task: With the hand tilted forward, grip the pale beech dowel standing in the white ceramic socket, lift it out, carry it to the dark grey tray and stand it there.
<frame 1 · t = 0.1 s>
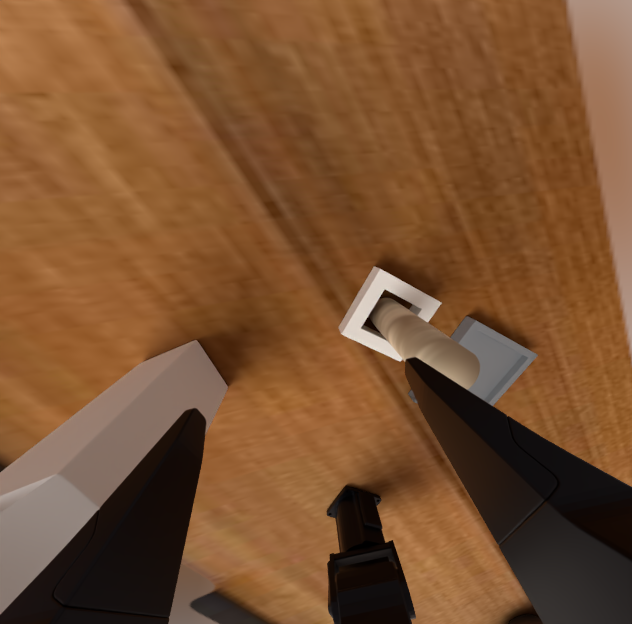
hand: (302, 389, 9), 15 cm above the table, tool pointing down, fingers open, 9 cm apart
tray: (466, 371, 29), on the table
dowel: (408, 334, 20), in the socket
milk carton: (187, 373, 26), on the table
socket: (384, 312, 25), on the table
cooking pot: (521, 620, 53), on the table
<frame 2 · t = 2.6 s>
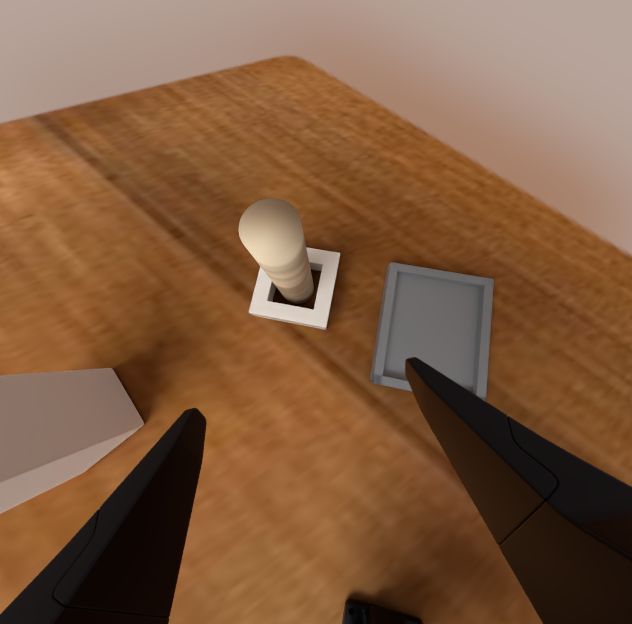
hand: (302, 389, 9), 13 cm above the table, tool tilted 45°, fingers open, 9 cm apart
tray: (427, 331, 23), on the table
dowel: (288, 267, 18), in the socket
milk carton: (102, 416, 23), on the table
socket: (297, 288, 24), on the table
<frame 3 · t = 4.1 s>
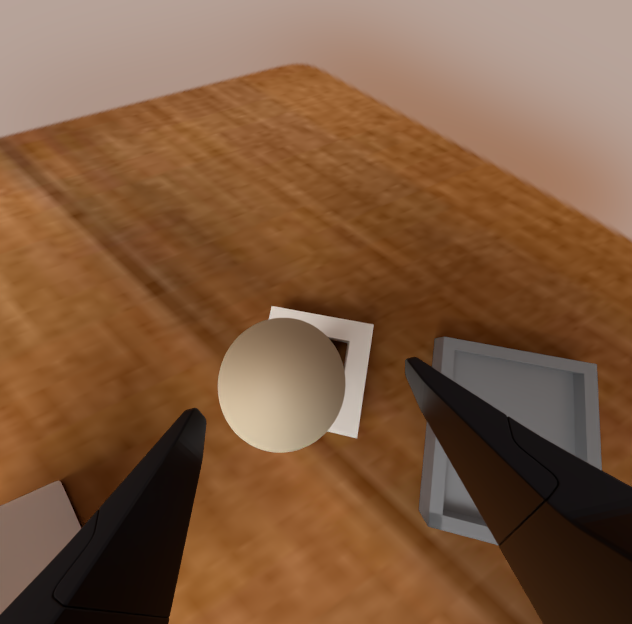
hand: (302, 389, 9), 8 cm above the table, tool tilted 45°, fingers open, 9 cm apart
tray: (499, 434, 16), on the table
dowel: (305, 370, 12), in the socket
milk carton: (43, 552, 16), on the table
socket: (313, 366, 18), on the table
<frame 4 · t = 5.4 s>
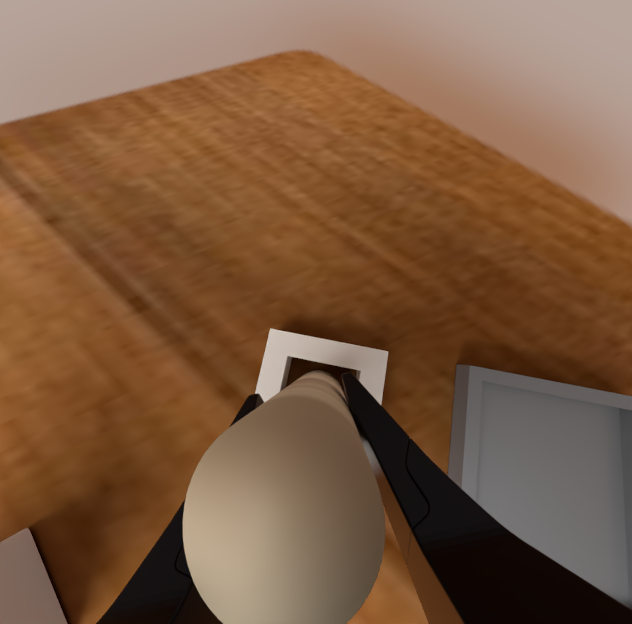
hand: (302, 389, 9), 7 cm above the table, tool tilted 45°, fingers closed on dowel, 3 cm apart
tray: (532, 477, 14), on the table
dowel: (310, 420, 10), in the socket, touching gripper
milk carton: (8, 611, 14), on the table
socket: (318, 396, 16), on the table
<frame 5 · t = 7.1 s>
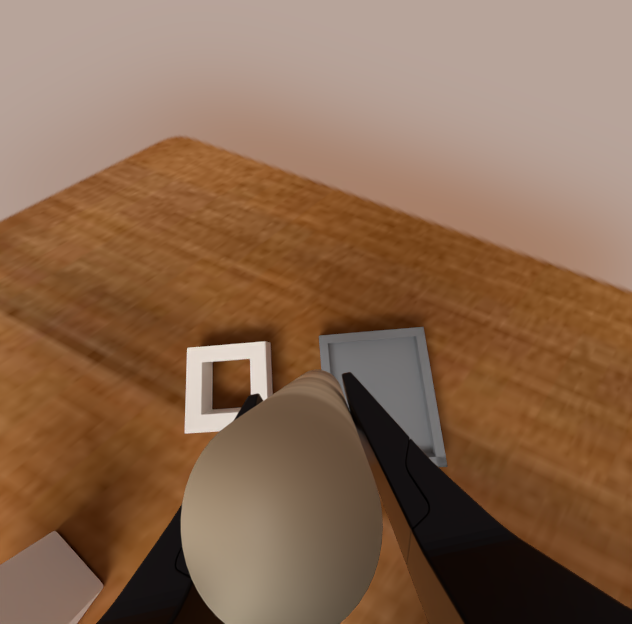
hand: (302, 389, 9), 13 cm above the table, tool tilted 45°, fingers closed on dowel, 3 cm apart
tray: (375, 393, 22), on the table
dowel: (309, 419, 10), point 13 cm above the table, touching gripper
milk carton: (56, 589, 20), on the table
socket: (234, 383, 23), on the table
when the fingers open (8 cm above the table, at t = 8.8 s): dowel stays where it is, resting on tray.
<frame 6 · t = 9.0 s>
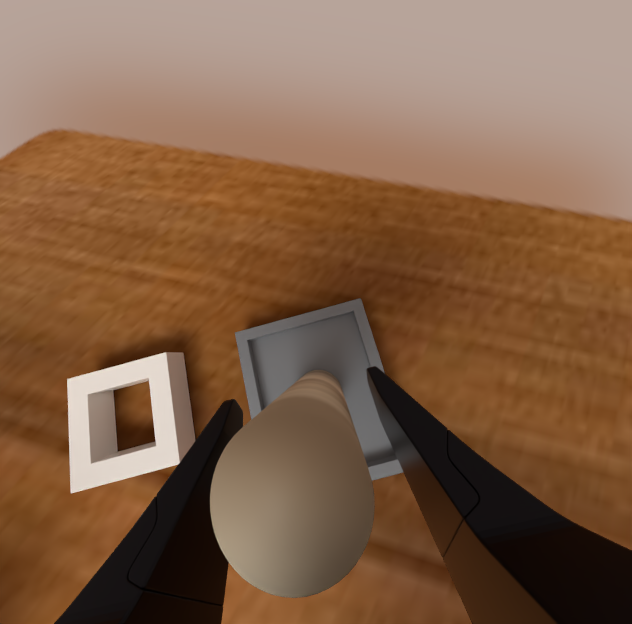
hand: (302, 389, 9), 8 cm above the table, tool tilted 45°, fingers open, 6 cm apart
tray: (319, 392, 17), on the table
dowel: (312, 416, 11), point 7 cm above the table, touching tray
socket: (143, 412, 18), on the table
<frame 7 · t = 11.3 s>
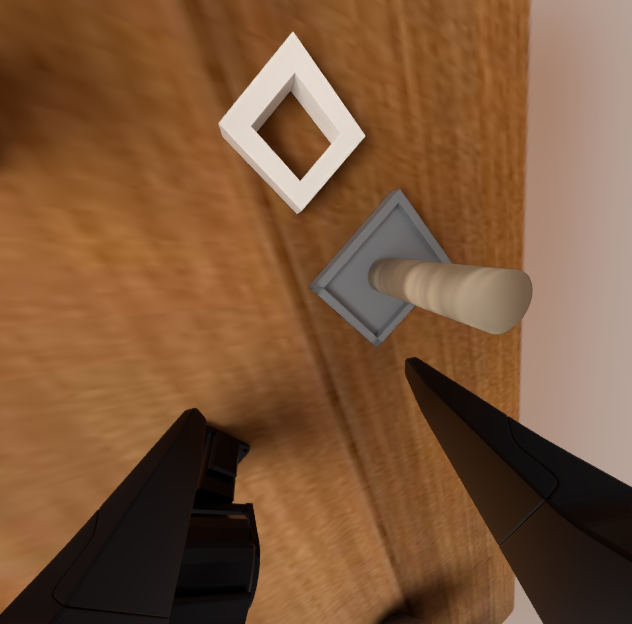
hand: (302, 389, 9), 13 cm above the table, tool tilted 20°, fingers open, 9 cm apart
tray: (379, 273, 24), on the table
dowel: (425, 284, 17), point 7 cm above the table, touching tray
socket: (293, 141, 18), on the table
cooking pot: (390, 622, 48), on the table
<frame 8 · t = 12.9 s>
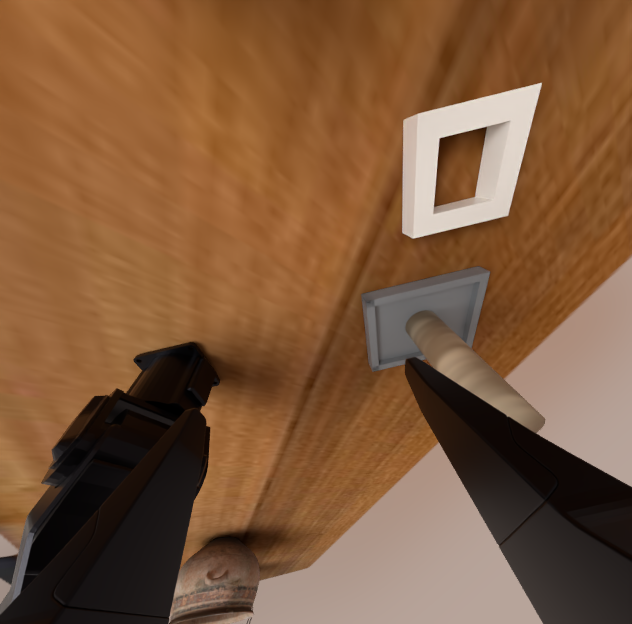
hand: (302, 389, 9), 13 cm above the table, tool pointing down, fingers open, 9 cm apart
tray: (417, 319, 25), on the table
dowel: (456, 363, 19), point 7 cm above the table, touching tray
socket: (451, 171, 17), on the table
cooking pot: (224, 540, 58), on the table
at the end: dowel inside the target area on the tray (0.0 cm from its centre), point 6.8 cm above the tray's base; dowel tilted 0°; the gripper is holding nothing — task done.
